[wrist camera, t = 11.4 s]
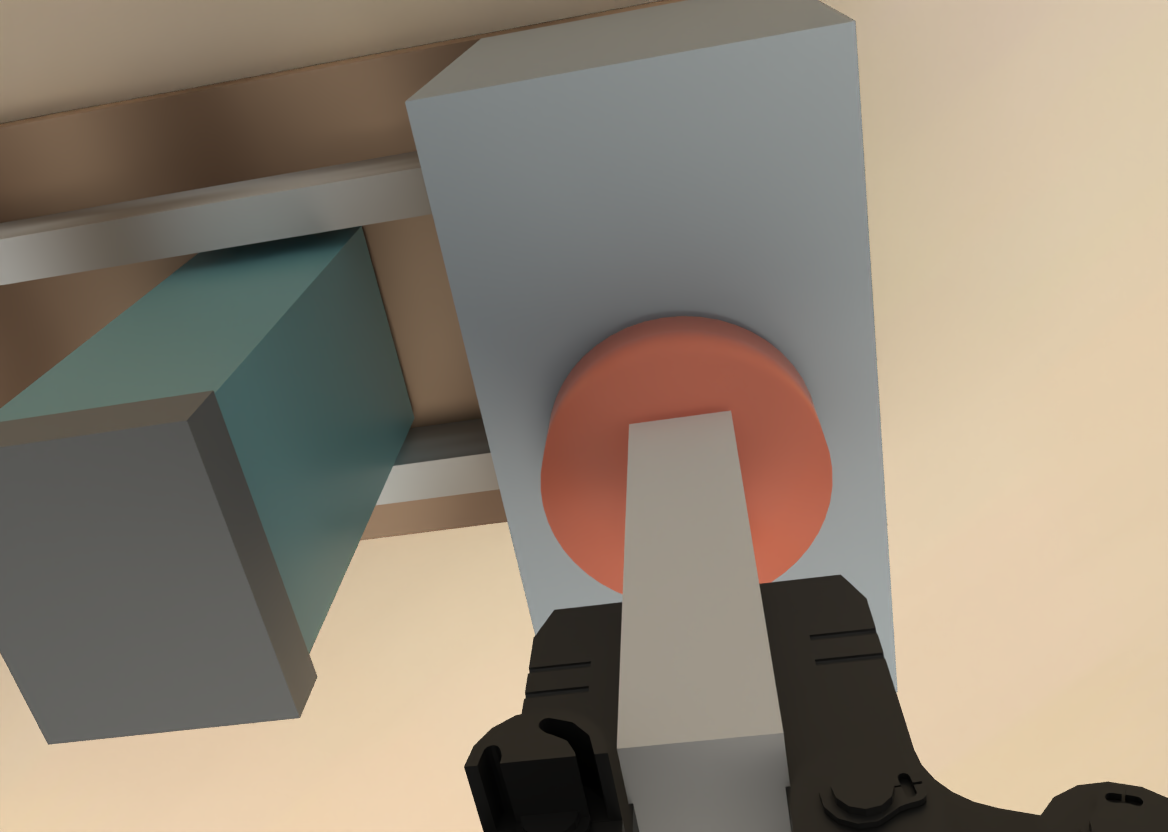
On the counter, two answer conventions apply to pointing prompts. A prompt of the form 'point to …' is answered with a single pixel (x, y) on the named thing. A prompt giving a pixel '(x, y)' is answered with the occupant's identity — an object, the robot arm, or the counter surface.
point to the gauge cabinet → (661, 236)
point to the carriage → (197, 492)
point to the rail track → (252, 235)
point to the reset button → (671, 390)
